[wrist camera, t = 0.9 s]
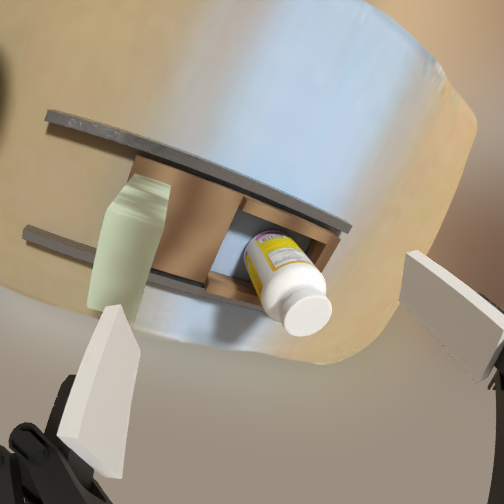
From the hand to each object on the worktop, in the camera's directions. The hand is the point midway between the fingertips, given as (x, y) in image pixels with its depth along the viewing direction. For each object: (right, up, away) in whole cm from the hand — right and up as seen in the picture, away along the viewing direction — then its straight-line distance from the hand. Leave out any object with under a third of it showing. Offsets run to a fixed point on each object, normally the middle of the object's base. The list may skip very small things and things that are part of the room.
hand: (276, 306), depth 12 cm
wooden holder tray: (-4, +4, +21) cm, 22 cm away
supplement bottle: (+1, +2, +24) cm, 24 cm away
